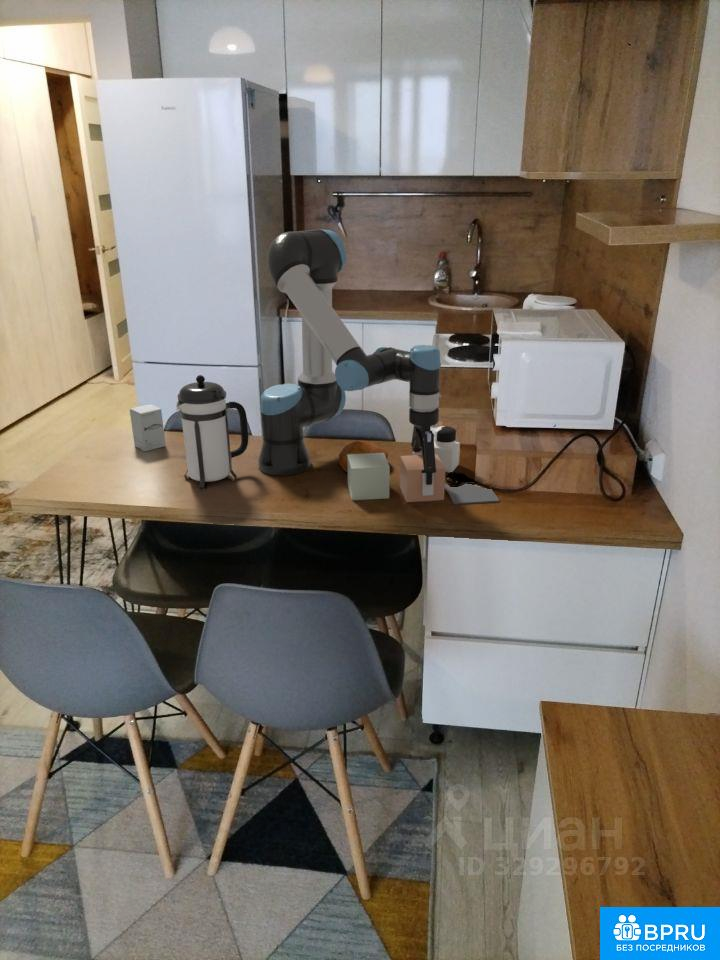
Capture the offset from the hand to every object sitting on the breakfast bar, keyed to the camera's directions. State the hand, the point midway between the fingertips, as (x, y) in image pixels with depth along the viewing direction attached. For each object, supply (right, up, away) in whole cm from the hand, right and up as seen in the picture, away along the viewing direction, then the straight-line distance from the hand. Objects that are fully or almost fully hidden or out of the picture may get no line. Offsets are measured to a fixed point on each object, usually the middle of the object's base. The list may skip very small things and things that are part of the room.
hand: (422, 484), depth 184 cm
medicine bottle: (+8, +5, +18) cm, 20 cm away
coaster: (+13, -2, +1) cm, 13 cm away
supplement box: (-83, +12, +35) cm, 91 cm away
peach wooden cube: (0, -2, +1) cm, 3 cm away
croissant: (-16, +5, +19) cm, 25 cm away
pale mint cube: (-14, -2, +3) cm, 15 cm away
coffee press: (-58, +2, +12) cm, 59 cm away
